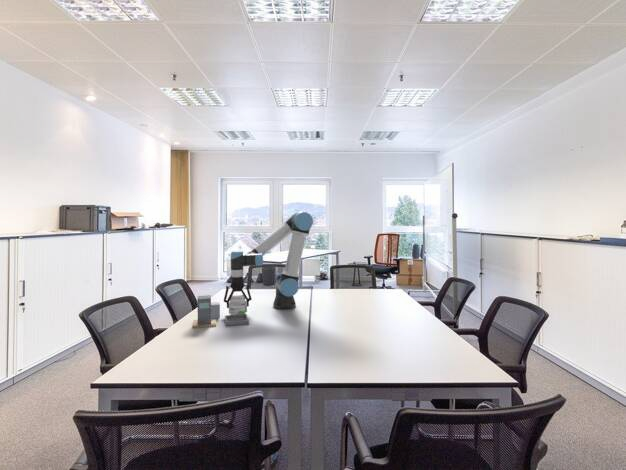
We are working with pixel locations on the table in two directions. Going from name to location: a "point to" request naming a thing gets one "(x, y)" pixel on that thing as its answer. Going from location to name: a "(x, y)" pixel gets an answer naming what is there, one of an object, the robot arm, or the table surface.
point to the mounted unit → (204, 313)
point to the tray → (236, 320)
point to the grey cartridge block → (215, 310)
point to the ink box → (237, 305)
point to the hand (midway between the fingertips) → (237, 312)
